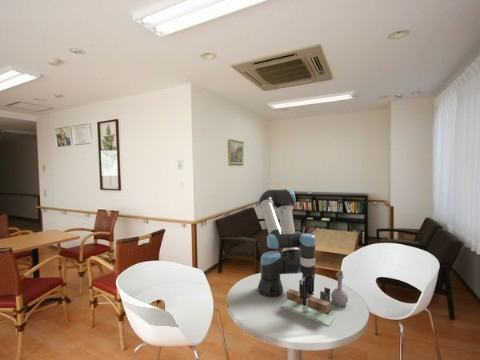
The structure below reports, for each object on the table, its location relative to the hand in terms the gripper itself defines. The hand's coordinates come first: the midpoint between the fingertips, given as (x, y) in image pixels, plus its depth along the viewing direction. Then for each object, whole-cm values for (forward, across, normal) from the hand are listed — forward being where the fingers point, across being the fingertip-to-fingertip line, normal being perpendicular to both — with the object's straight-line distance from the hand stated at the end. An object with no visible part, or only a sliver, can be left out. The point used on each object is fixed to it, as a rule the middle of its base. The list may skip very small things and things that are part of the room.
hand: (307, 308), depth 132 cm
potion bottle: (+2, +20, -10) cm, 23 cm away
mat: (+2, 0, 0) cm, 2 cm away
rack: (+2, +9, 0) cm, 9 cm away
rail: (-2, 0, 0) cm, 2 cm away
